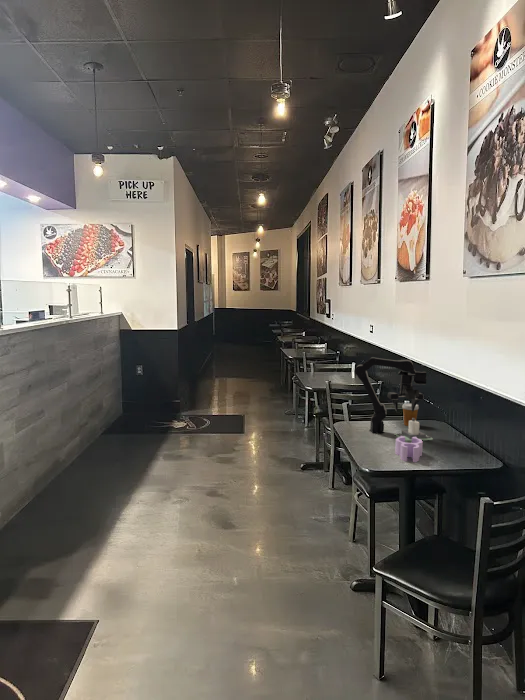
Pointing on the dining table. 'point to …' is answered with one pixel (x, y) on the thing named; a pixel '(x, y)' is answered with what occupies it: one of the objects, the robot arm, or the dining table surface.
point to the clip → (409, 448)
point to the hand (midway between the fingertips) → (404, 411)
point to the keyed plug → (413, 427)
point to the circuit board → (411, 439)
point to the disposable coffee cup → (409, 413)
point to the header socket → (409, 435)
